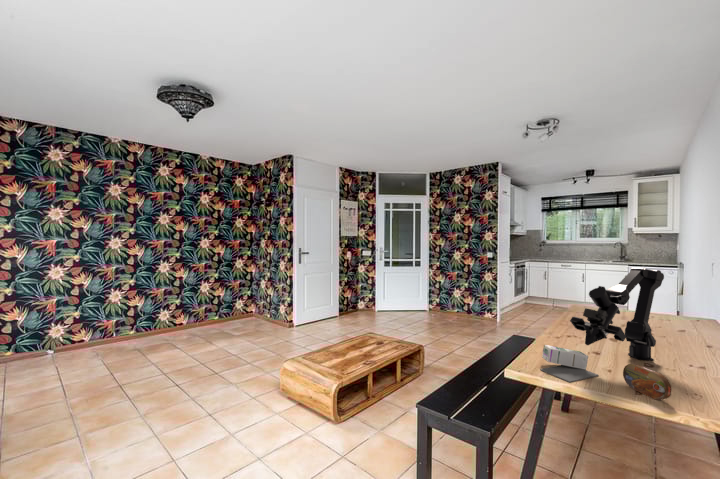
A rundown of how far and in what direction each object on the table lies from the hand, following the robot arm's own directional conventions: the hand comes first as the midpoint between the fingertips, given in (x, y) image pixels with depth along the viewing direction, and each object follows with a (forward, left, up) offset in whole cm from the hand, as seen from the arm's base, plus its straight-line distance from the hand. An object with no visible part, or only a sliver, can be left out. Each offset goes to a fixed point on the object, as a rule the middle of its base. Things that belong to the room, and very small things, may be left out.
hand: (586, 344), depth 130 cm
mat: (+9, +5, -10) cm, 14 cm away
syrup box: (0, -1, -7) cm, 7 cm away
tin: (-9, +19, -10) cm, 23 cm away
